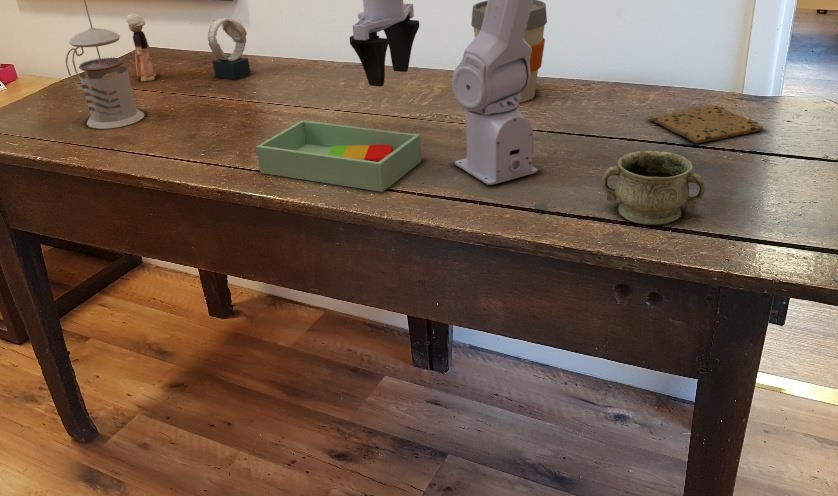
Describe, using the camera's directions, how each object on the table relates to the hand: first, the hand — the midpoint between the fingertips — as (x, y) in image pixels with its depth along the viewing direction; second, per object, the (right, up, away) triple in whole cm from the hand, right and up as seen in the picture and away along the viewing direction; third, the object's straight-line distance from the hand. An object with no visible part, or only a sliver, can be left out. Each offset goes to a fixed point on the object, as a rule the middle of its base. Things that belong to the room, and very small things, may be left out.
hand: (389, 78), depth 119 cm
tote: (-7, -14, -4) cm, 16 cm away
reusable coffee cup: (+20, +2, +20) cm, 29 cm away
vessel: (+33, -23, -22) cm, 45 cm away
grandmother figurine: (-50, +11, +42) cm, 67 cm away
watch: (-33, +12, +41) cm, 54 cm away
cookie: (+48, -7, +2) cm, 48 cm away
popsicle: (-7, -14, -4) cm, 16 cm away
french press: (-50, -1, +21) cm, 54 cm away
